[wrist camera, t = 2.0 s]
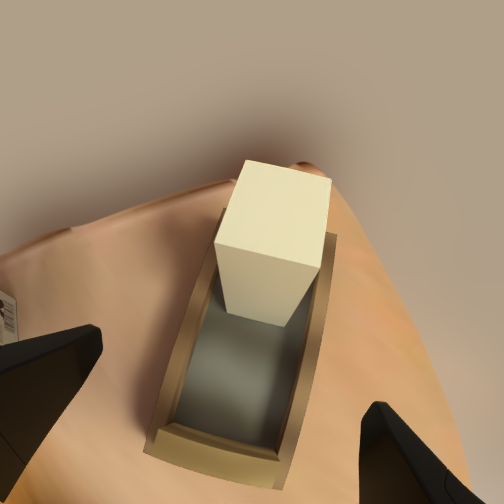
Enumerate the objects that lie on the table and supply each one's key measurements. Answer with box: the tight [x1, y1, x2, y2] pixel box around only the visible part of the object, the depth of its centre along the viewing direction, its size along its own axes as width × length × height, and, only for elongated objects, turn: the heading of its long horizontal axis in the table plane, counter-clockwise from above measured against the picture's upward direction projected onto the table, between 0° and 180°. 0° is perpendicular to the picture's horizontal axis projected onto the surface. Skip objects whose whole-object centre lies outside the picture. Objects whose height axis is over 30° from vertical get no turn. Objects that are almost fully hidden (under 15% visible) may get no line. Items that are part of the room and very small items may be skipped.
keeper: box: [214, 160, 331, 327], centre depth 17 cm, size 5×4×11 cm
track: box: [143, 208, 337, 490], centre depth 19 cm, size 20×10×5 cm, turn 166°
